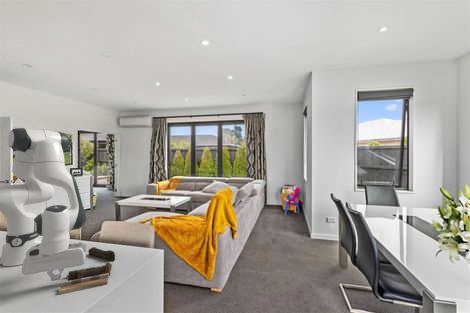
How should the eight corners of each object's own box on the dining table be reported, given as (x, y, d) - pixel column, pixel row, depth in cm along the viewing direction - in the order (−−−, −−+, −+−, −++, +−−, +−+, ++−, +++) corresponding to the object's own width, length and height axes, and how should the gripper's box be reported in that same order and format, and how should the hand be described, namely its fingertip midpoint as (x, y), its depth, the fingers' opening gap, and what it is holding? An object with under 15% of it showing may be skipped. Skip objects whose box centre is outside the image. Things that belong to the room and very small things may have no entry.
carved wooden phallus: (87, 256, 115) (87, 247, 115) (95, 253, 118) (95, 244, 119) (109, 264, 106) (109, 254, 106) (116, 260, 109) (116, 251, 110)
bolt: (69, 286, 90) (110, 277, 96) (65, 286, 86) (109, 276, 92) (70, 271, 92) (110, 263, 99) (67, 270, 89) (109, 261, 95)
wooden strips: (71, 273, 97) (71, 267, 97) (112, 266, 103) (112, 260, 103) (58, 294, 82) (58, 287, 82) (107, 284, 88) (107, 278, 88)
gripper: (87, 239, 95) (87, 270, 95) (27, 247, 87) (27, 281, 87) (84, 244, 90) (84, 277, 90) (19, 253, 81) (19, 290, 81)
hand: (55, 279), depth 88 cm, fingers closed
